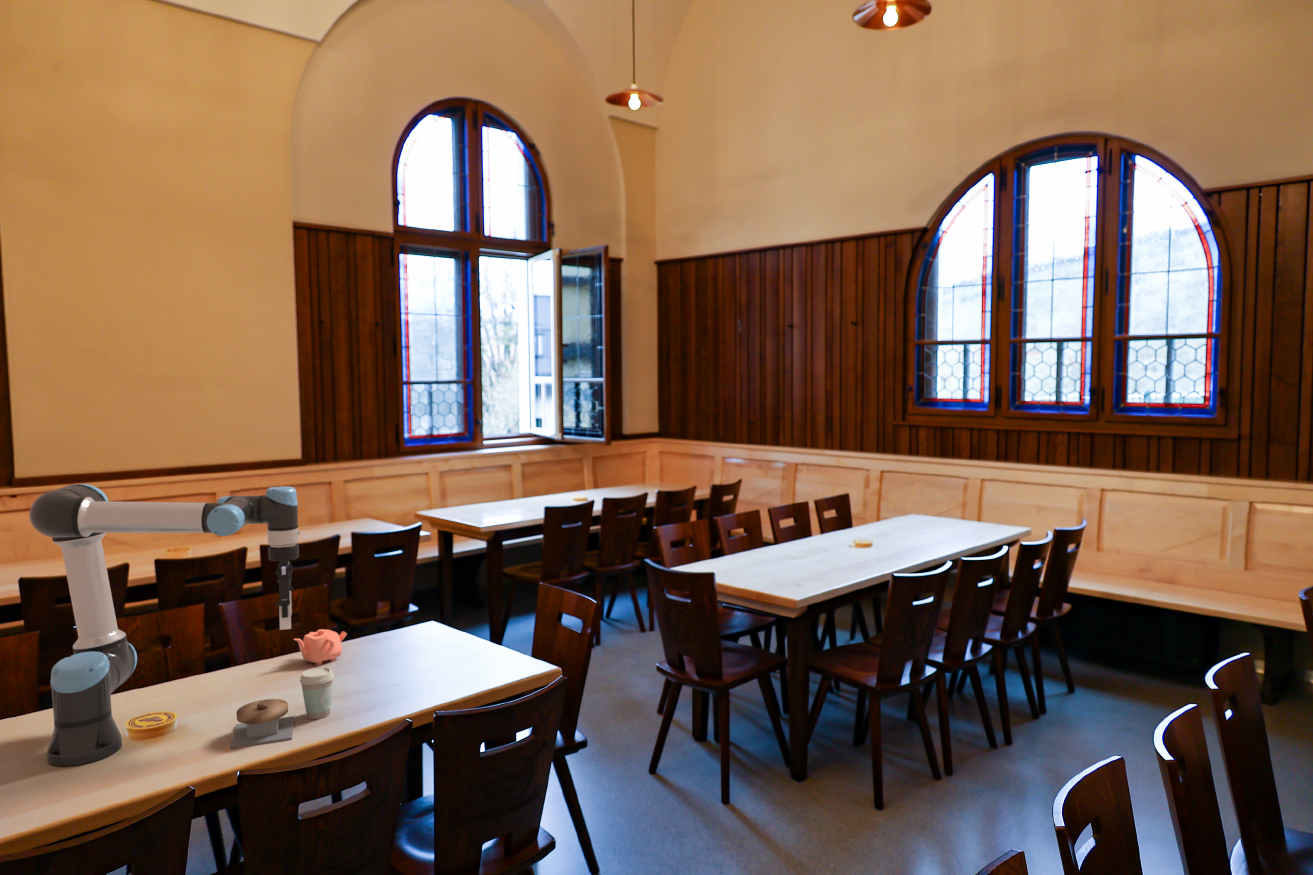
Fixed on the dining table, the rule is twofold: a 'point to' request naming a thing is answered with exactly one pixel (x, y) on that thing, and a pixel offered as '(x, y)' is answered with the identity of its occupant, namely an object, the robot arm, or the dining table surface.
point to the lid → (262, 711)
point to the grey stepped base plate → (262, 732)
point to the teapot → (321, 646)
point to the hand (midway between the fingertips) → (286, 621)
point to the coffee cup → (317, 691)
